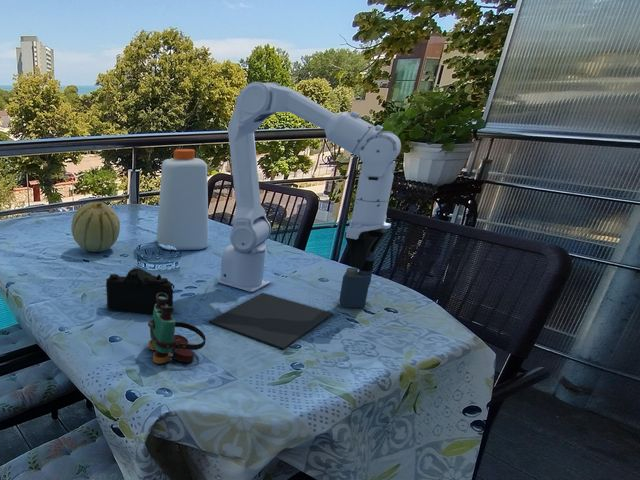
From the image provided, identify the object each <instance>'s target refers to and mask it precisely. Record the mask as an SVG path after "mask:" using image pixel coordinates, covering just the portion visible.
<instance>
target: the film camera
mask: <svg viewBox="0 0 640 480" xmlns="http://www.w3.org/2000/svg"><path fill="white" fill-rule="evenodd" d="M105 289H106V290H105V291H106V292H105V293H106V306H107V307H106V308H107V309H108V310H109V311H117V312H125V313H135V314H143V315H153V311H154V306H155V304H157V300H156V295H157V294H158V293H166V294H167V295H168V297H169V298H168V301H167V302H166V304H167V305H168V306H173V307H174V289H175V285H174V284H173V283H172V282H171V281H170V280H169V279H168V278H166V277H162V276H161V274H157V276H156V275H154V274H151V273H150V272H148V271H146V270H144V269H142V268H137V267H133V268H132V269H130V270H129V271H128V272H127V273H126V275H125V276H123V275H122V276H121V275H119V274H117V273H111V274H110V275H109V277H108V278H106V282H105Z"/></svg>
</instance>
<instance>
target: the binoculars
mask: <svg viewBox="0 0 640 480" xmlns="http://www.w3.org/2000/svg"><path fill="white" fill-rule="evenodd" d="M168 298H169V297H168V295H167V294H166V293H158V294H157V295H156V300H157V304H155V306H154V311H153V314H152V317H151V319H150V320H148V322H147V326H148V328H149V332H150V334H149V337H150V340H149V341H148V349H149V350H151V351H155V352H153V354H152V361H153V363H155V364H159V365H160V364H165V363H167V362H168V361H170V359H172V360H176V361H180V362H183V363H191V362H193V361H194V357H195V352H194V351H197V350H202V349H203V347H204V346H205V345H206V341H207V338H206V335H205V333H204V332H203V331H202V330H201V329H200V328H198V327H197V326H195V325H193V324H190V323H186V322H182V321H176V319H175V318H174V317H173V316H172V313H173V312H174V308H175V306H174V305H173V306H168V305H167V304H166V302H167V301H168ZM176 328H183V329H186V330H189V331H191V332H194V333H195V334H196V335H198V336H199V337H200V338H201V339H202V340H203V341H202V342H201V343H197V344H195V343H191V344H190V343H189V340H188V338H186V337H185V336H184V335H180V334H175V332H176ZM171 353H172V356H171Z"/></svg>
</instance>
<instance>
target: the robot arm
mask: <svg viewBox="0 0 640 480" xmlns="http://www.w3.org/2000/svg"><path fill="white" fill-rule="evenodd" d="M234 100H235V106H234V109H233V111H232V113H231V117H230V120H229V123H228V125H227V134H228V143H229V152H230V161H231V163H230V164H231V170H232V179H233V189H234V200H235V208H236V209H235V212H234V215H233V217H232V220H231V222H232V227H231V228H232V229H231V231H230V235H229V239H230V244H229V245H227V246H226V247H225V248H224V250H223V252H222V255H221V261H220V264H221V265H220V278H219V280H218V283H219V284H222V285H225V286H229V287H232V288H236V289H239V290H242V291H246V292H250V293H254V292H256V291H258V290H259V289H262V288H263V287H265V286H268V285H269V284H271V282H270V281H269V280H266V279H264V271H265V260H266V253H267V252H266V251H267V250H266V249H267V245H266V241H267V240H268V239H269V238H270V237H271V233H272V226H271V223H270V221H269V220H268V219H267V214H266V210H265V209H264V207H263V206H262V204H261V193H260V182H259V173H258V172H259V171H258V161H257V150H256V140H255V139H256V138H255V132H256V131H257V130H258V128H260V127H261V125H262V124H263V122H265V120H267V119H268V118H270V117H271V116H273V115H274V114H275V113H291V114H292V115H295V116H297V117H298V118H300V119H302V120H304V121H306V122H307V123H310V124H312V125H314V126H316V127H319V128H320V129H322V130H324V132H325V138H326V140H327V141H328V142H330V143H332V144H335V146H338V147H340V148H342V149H344V150H345V151H347V152H348V153H350V154H352V155H354V156H359V158H360V160H361V162H362V163H361V169H360V173H359V175H358V182H357V186H356V187H357V188H356V193H355V198H354V205H353V210H352V215H351V216H352V217H351V219H350V221H349V225H348V227H347V228H346V231H345V232H344V239H345V241H346V243H347V246H348V252H349V261H350V262H349V263H350V268H356V269H358V270H359V269H362V268H363V267H364V265H365V262H366V259H367V256H368V253H369V251H371V252H372V255H373V256H374V254H375V251H376V249H377V248H378V246H379V244H380V242H381V241H382V240H383V238H384V237H385V236H386V234H387V230H388V229H390V228H391V226H392V223H390V222H386V221H387V217H388V216H387V212H388V207H389V201H390V196H391V193H392V187H393V181H394V177H395V175H394V172H395V170H396V161H395V159H397V157H398V156H399V155H400V153H401V150H402V142H401V139H400V138H399V137H398V136H397V135H396V134H395V133H394V132H393V131H389V130H384V131H382V130H383V128H384V127H383V126H382V125H380V124H377V125H376V126H375V125H374V124H372V123H369V122H368V121H366V120H364V119H362V118H360V116H361V113H359V112H357V111H354V110H353V111H351V112H349V111H342V112H339V113H334V112H333V111H331V110H329V109H328V108H326V107H324V106H322V105H320V104H319V103H317V102H316V101H314V100H312V99H310V98H309V97H308V96H306V95H304V94H302V93H301V92H299V91H297V90H294V89H292V88H290V87H288V86H283V85H281V84H279V83H277V82H275V81H269V82H260V81H253V82H250V83H248V84H247V85H245V87H243V89H242V90H241V91H240V92H239V93H238V95H237V96H236V97H235V99H234Z"/></svg>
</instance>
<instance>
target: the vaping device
mask: <svg viewBox="0 0 640 480" xmlns="http://www.w3.org/2000/svg"><path fill="white" fill-rule="evenodd" d="M375 260H376V256H375V255H374V254H373V255H372V252H371V251H369V253H368V256H367V259H366V262H365V265H364V267H363V268H362V269H359V268H354V267H347V268H346V270H345V271H346V272H344V275H343V276H342V281H341V288H340V293H339V299H338V301H339V305H340V306H341V307H343V308H356V309H357V308H365V307H366V302H367V299H368V293H369V287H370V285H371V282H372V277H373V269H374V265H375Z"/></svg>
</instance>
